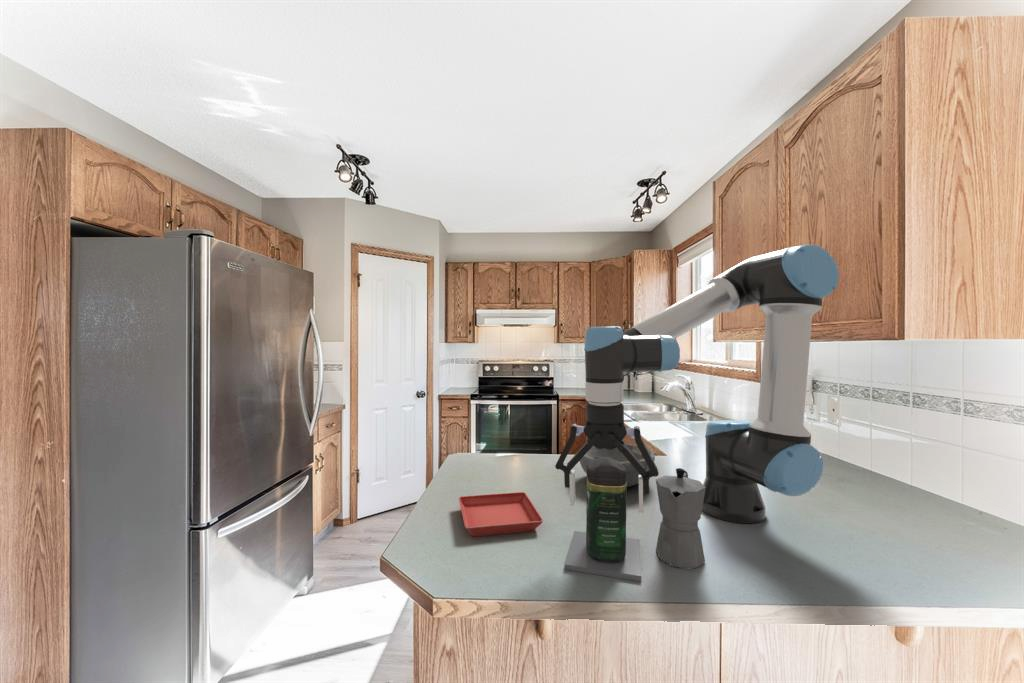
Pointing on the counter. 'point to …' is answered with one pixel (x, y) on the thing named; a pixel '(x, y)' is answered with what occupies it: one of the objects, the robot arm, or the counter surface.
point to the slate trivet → (618, 569)
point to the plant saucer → (499, 513)
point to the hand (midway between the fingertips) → (606, 506)
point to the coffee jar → (606, 509)
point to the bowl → (631, 472)
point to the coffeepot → (680, 520)
